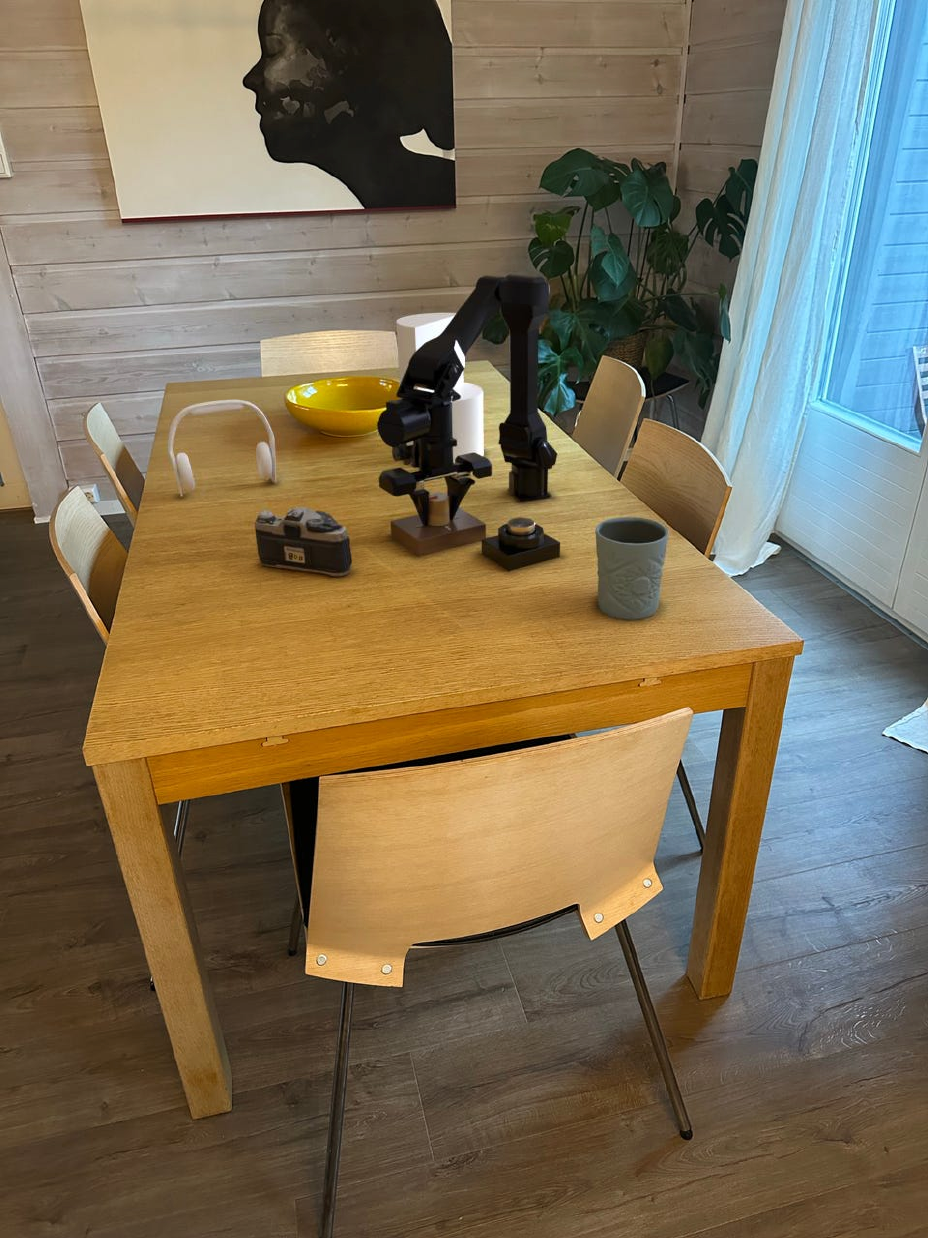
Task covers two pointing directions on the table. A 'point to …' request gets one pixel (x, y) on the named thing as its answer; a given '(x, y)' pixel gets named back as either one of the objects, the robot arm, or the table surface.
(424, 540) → the console
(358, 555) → the table surface
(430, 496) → the volume knob
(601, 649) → the table surface
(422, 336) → the cylinder
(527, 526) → the power button
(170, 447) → the headset
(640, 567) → the grey embossed cup
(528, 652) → the table surface
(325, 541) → the camera
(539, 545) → the switch block
